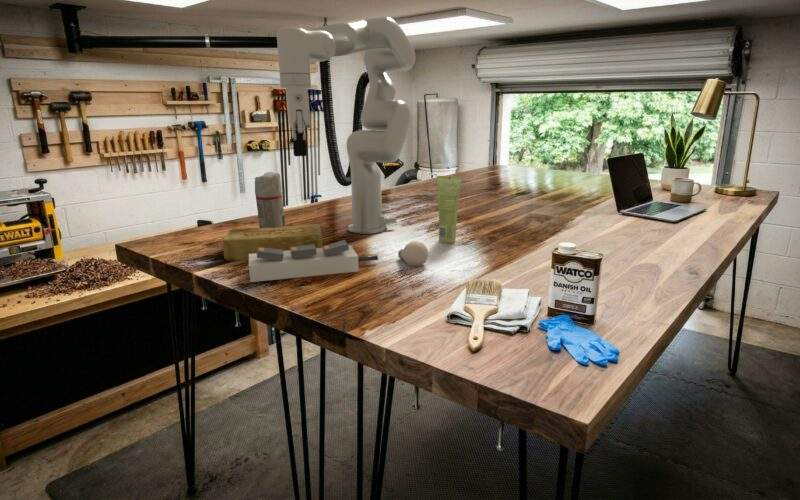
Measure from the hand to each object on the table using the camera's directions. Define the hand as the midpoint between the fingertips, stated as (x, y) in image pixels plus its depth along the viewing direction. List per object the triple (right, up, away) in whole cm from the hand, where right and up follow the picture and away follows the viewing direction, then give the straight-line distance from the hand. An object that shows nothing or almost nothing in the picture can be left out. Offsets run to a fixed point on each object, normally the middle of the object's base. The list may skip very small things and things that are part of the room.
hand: (300, 155), depth 132 cm
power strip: (+5, -29, -4) cm, 30 cm away
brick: (-9, -26, +11) cm, 29 cm away
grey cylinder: (-14, -21, +26) cm, 36 cm away
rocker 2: (+2, -25, -8) cm, 26 cm away
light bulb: (+29, -28, 0) cm, 41 cm away
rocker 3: (+10, -24, -5) cm, 27 cm away
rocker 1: (-6, -26, -10) cm, 28 cm away
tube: (+40, -22, +20) cm, 50 cm away
